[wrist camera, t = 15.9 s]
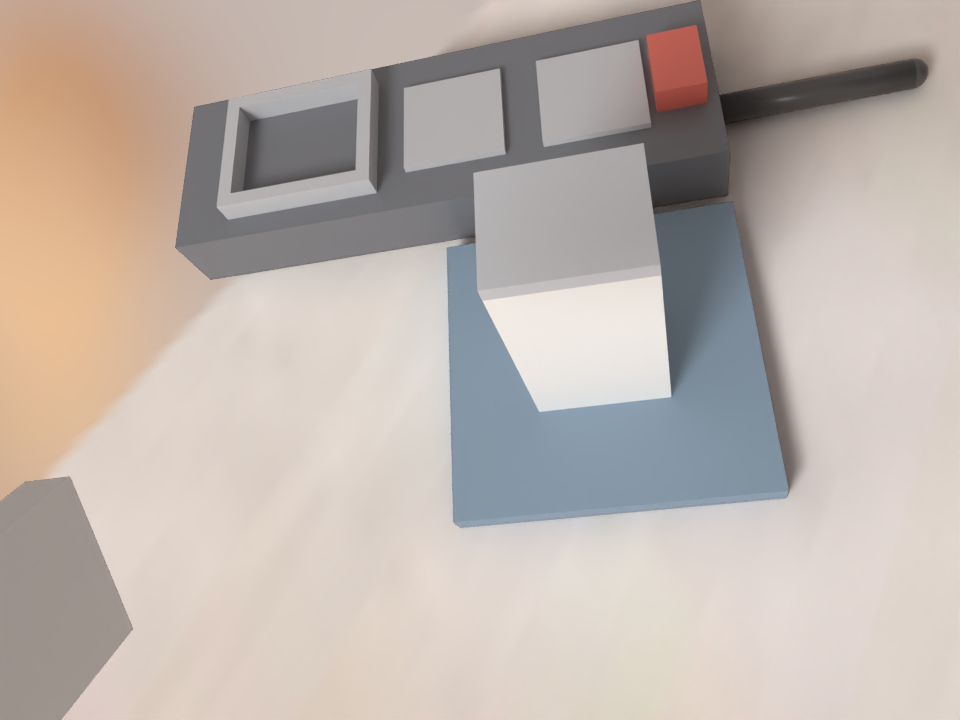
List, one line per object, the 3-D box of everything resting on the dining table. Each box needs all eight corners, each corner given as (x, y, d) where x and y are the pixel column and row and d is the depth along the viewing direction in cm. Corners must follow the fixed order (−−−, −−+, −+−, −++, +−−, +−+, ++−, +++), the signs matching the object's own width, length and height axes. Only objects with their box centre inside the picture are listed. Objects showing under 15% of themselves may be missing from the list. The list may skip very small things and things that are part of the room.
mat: (731, 214, 34) (732, 201, 33) (785, 497, 29) (788, 490, 28) (453, 259, 37) (446, 247, 36) (459, 527, 32) (453, 522, 31)
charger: (658, 302, 32) (643, 143, 24) (671, 397, 31) (660, 264, 22) (533, 319, 33) (473, 172, 25) (539, 411, 32) (477, 291, 23)
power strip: (900, 10, 36) (923, -72, 32) (949, 158, 33) (982, 86, 29) (225, 145, 43) (180, 90, 39) (210, 279, 39) (159, 233, 36)
